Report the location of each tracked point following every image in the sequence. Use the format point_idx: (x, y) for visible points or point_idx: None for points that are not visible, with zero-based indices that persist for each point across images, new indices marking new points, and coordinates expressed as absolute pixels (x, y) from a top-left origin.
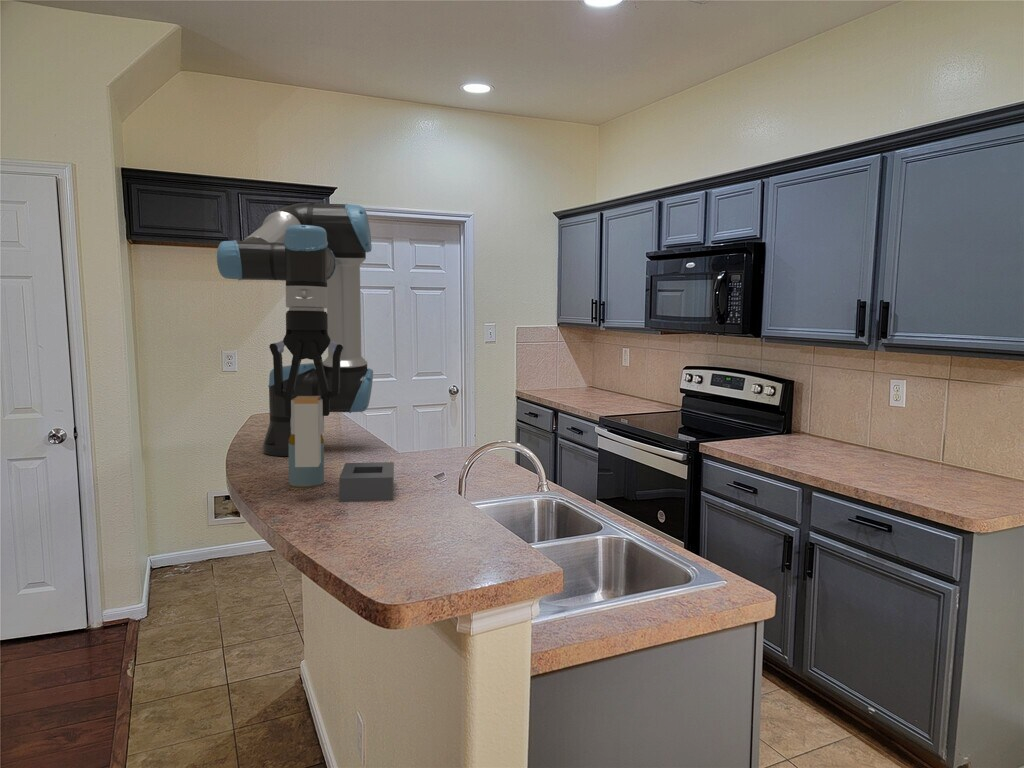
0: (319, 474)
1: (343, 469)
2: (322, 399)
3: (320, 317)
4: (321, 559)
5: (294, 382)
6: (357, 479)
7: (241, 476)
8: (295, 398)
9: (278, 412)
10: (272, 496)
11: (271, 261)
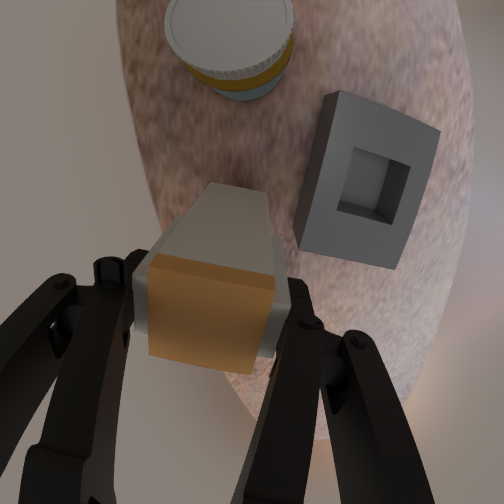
0: (271, 88)
1: (323, 165)
2: (275, 347)
3: None
4: (243, 393)
5: (120, 391)
6: (333, 256)
7: None
8: (153, 355)
9: None
10: (174, 116)
11: None
